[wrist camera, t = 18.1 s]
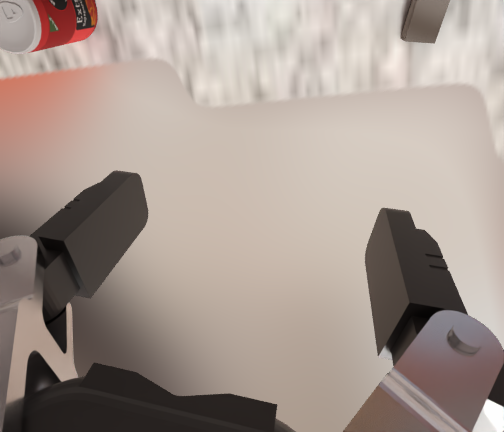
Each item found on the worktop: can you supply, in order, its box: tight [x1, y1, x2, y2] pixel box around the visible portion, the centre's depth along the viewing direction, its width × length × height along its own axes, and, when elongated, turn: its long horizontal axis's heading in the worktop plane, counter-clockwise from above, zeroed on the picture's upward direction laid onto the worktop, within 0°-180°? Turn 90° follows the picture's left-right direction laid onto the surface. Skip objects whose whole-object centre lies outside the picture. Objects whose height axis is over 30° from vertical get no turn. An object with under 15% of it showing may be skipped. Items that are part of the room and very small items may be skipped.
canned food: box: [0, 0, 97, 54], centre depth 35 cm, size 8×8×11 cm
